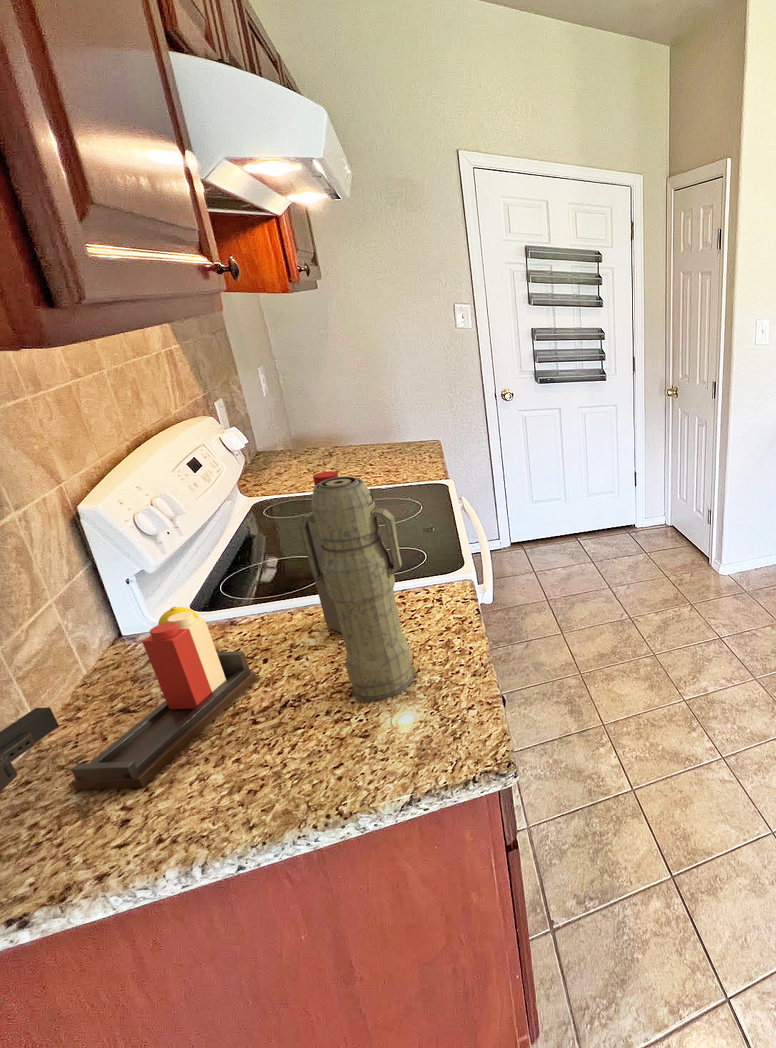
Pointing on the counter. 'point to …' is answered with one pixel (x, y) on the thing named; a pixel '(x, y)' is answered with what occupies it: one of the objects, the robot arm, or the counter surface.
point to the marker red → (177, 666)
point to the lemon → (174, 611)
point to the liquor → (325, 600)
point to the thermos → (360, 584)
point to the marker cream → (202, 646)
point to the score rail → (162, 735)
